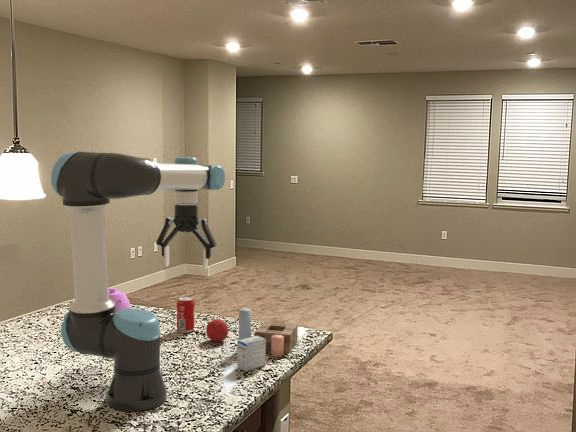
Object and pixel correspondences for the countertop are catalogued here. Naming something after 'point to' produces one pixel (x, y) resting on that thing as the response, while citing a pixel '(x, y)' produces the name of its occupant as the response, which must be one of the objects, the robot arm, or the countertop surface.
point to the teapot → (119, 299)
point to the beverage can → (185, 314)
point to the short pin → (277, 345)
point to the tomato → (217, 330)
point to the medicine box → (251, 353)
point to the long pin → (244, 323)
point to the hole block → (278, 329)
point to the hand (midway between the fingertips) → (186, 267)
